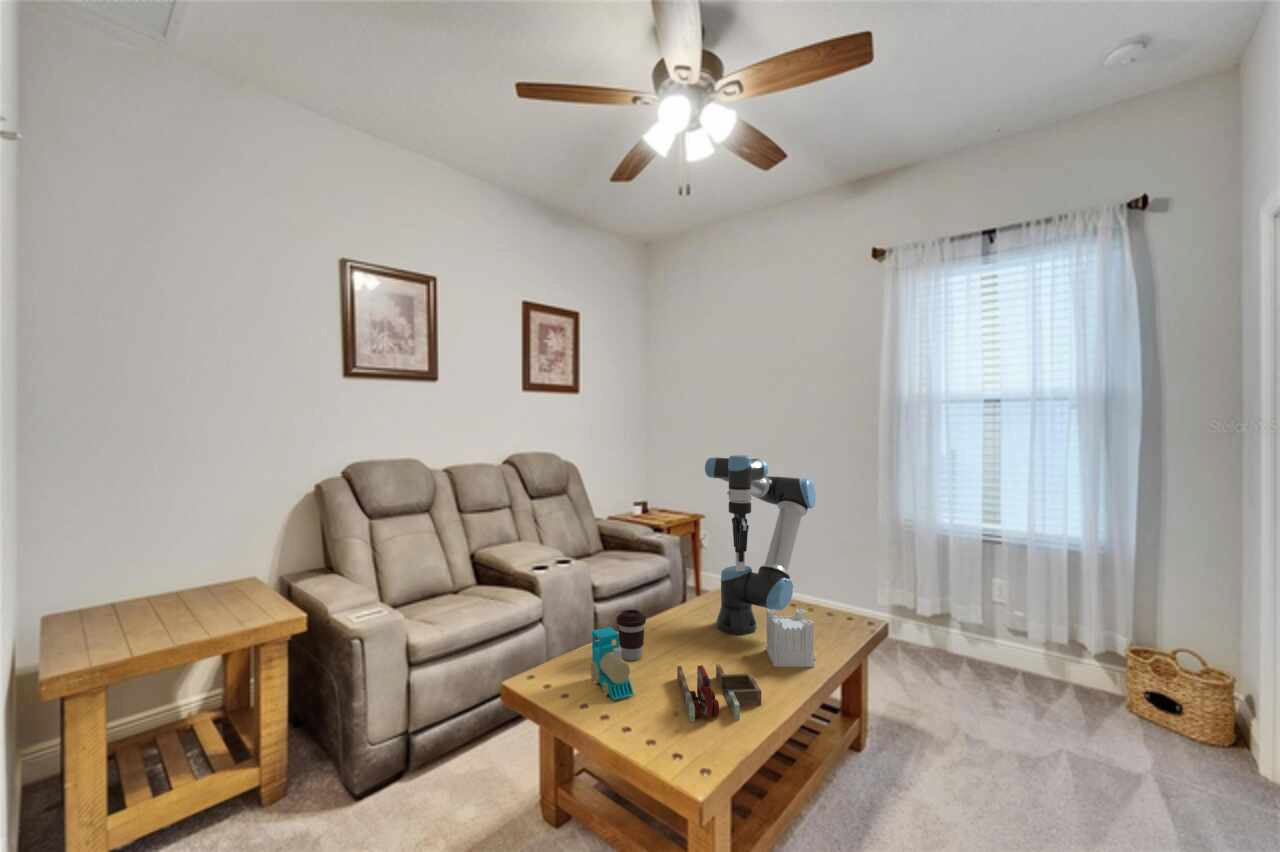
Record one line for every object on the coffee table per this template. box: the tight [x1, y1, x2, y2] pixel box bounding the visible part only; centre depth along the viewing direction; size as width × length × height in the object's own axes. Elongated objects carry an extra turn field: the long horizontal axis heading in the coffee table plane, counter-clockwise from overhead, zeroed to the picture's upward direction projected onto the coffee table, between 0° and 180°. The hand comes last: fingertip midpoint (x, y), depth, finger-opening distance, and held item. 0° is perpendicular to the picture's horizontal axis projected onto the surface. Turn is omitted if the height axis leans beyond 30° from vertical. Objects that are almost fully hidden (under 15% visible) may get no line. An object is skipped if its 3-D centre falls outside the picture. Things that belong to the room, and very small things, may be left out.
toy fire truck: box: [689, 664, 720, 718], centre depth 150 cm, size 7×12×10 cm, turn 5°
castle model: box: [765, 608, 817, 668], centre depth 182 cm, size 13×15×14 cm
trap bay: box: [721, 673, 762, 707], centre depth 158 cm, size 10×9×4 cm
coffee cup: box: [616, 609, 647, 662], centre depth 184 cm, size 10×10×15 cm
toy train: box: [590, 626, 634, 701], centre depth 163 cm, size 8×17×15 cm, turn 26°
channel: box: [676, 664, 741, 723], centre depth 157 cm, size 24×13×4 cm, turn 4°
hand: (740, 570), depth 184 cm, fingers closed
